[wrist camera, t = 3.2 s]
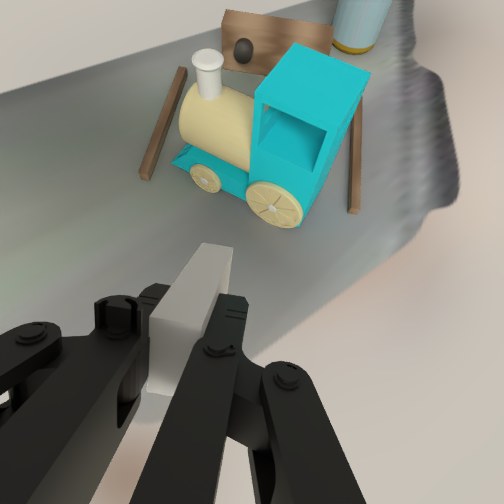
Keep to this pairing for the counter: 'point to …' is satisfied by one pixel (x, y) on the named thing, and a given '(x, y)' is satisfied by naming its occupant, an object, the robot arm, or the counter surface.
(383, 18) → the bottle
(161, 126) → the bar
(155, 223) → the counter surface
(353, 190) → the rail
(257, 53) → the buffer stop
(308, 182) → the toy train
